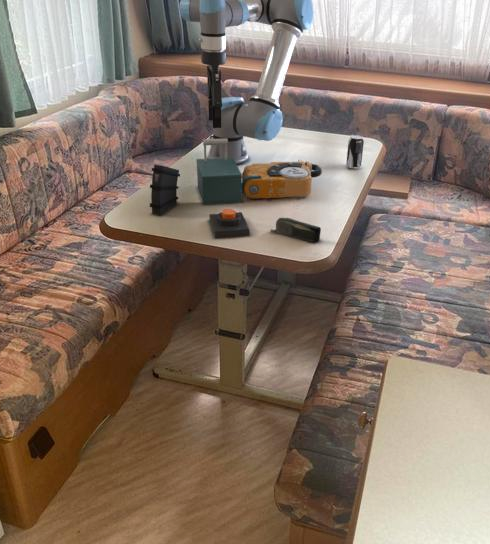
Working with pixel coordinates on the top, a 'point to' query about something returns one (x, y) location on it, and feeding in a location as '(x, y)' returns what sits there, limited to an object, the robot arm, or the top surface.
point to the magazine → (163, 189)
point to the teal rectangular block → (219, 189)
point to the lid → (217, 163)
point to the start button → (228, 214)
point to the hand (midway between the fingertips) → (215, 123)
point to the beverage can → (355, 151)
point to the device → (278, 179)
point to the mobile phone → (297, 229)
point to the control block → (228, 226)
